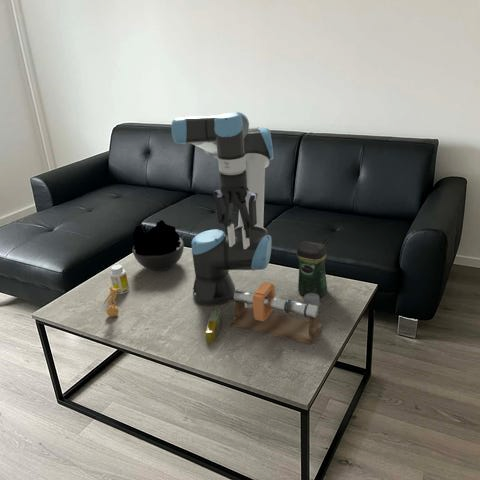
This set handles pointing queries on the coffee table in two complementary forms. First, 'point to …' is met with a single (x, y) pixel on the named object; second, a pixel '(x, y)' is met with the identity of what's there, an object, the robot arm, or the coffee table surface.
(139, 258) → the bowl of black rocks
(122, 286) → the supplement bottle
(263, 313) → the ring
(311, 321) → the stand
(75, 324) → the coffee table surface
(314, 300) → the gray egg
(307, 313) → the pipe
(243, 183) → the robot arm
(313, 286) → the coffee jar
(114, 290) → the figurine
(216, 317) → the medication box
